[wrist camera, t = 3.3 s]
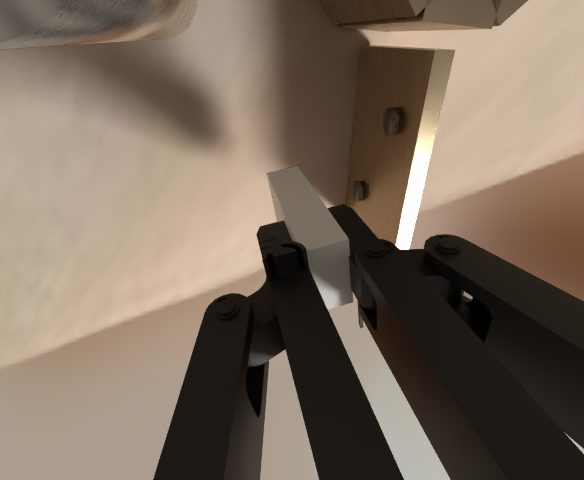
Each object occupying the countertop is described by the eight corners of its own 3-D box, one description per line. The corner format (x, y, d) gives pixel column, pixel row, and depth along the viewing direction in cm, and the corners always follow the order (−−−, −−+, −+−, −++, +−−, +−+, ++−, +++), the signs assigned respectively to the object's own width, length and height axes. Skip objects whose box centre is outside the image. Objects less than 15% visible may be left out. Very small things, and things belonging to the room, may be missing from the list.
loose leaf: (355, 45, 16) (427, 50, 11) (374, 45, 17) (455, 49, 11) (341, 215, 22) (385, 273, 16) (356, 213, 22) (404, 270, 17)
